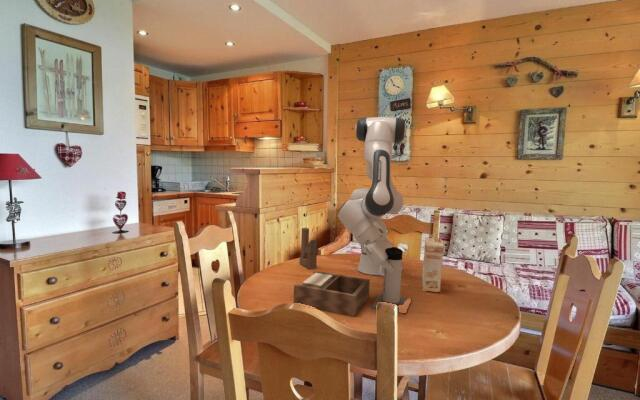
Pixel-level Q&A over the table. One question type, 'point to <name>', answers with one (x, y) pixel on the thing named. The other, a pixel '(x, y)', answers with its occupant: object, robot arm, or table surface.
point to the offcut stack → (318, 280)
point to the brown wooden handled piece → (308, 250)
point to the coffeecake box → (432, 264)
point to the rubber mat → (379, 299)
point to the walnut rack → (335, 294)
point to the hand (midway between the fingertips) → (395, 267)
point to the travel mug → (393, 276)
